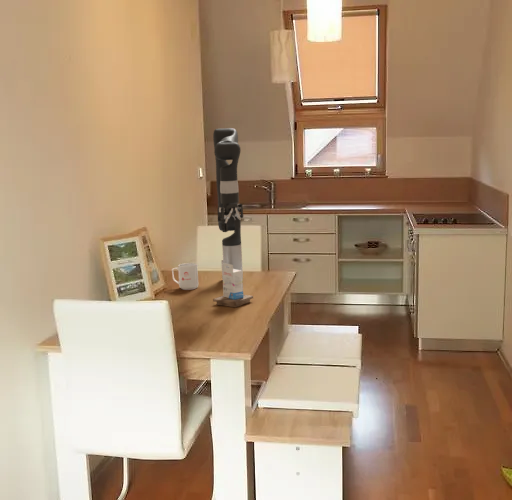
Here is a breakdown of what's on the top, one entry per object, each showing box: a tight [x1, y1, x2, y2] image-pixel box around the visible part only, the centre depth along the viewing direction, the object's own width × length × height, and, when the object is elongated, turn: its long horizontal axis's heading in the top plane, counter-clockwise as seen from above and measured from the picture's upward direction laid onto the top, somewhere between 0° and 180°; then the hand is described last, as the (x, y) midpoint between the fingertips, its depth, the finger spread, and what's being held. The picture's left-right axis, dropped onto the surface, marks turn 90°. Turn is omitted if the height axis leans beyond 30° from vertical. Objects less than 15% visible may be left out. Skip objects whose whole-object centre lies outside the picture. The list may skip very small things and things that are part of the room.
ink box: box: [221, 262, 244, 300], centre depth 283 cm, size 8×5×15 cm, turn 37°
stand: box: [212, 294, 254, 308], centre depth 284 cm, size 12×12×2 cm
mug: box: [171, 262, 199, 291], centre depth 316 cm, size 12×9×11 cm
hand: (231, 230), depth 282 cm, fingers open, 8 cm apart
